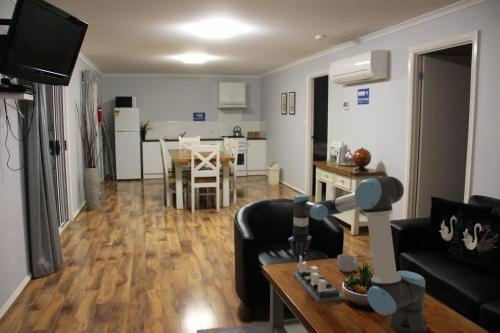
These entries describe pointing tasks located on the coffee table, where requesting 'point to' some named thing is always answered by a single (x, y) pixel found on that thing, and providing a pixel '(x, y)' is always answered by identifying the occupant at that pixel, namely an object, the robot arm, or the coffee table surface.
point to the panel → (313, 293)
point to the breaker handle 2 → (314, 269)
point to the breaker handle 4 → (321, 285)
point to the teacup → (347, 262)
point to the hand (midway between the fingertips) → (299, 268)
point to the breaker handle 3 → (314, 278)
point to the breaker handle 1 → (304, 267)
